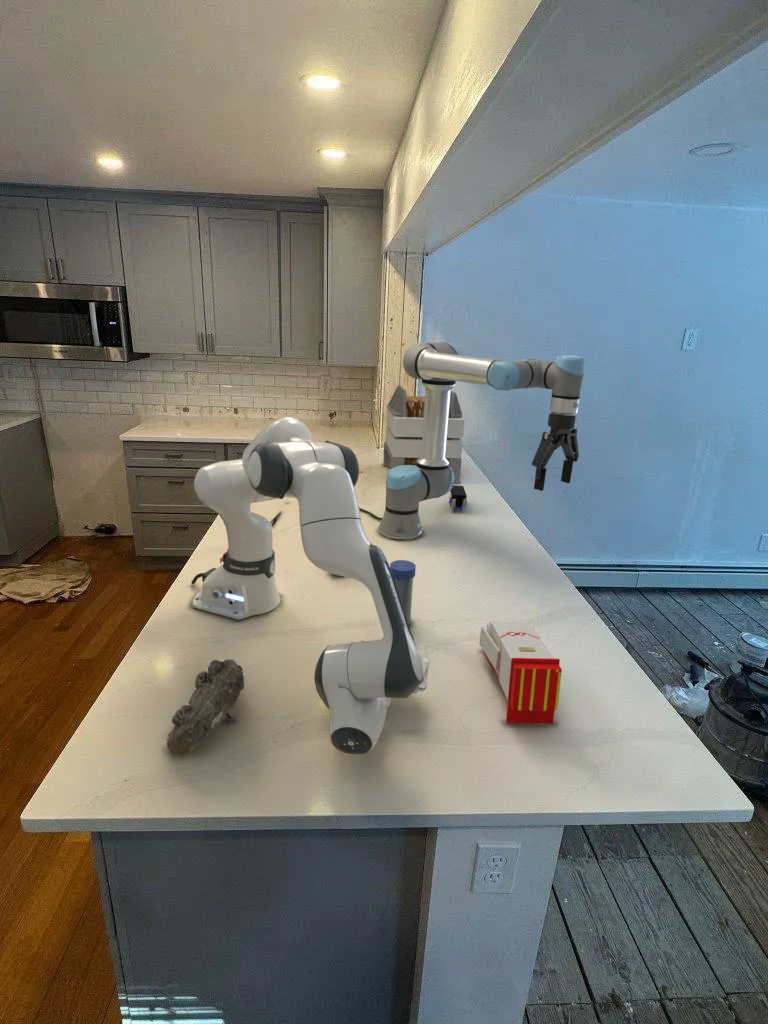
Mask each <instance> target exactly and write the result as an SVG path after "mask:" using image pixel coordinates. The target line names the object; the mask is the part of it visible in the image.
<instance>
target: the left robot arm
mask: <svg viewBox="0 0 768 1024" xmlns="http://www.w3.org/2000/svg"><path fill="white" fill-rule="evenodd" d="M312 437H313V436H312V433H311V431H310V429H309V428H308V426H307V425H306V424H305V423H304V422H303V421H302V420H300V419H298V418H295V417H290V416H289V417H288V416H286V417H281V418H278V419H275V421H272V422H271V423H270V424H268V425H267V426H265V427H264V428H263V429H262V430H260V431H259V433H257V435H255V437H254V438H253V439H252V440H251V442H250V443H249V444H248V445H247V446H246V448H245V449H244V450H243V453H242V457H241V458H239V459H238V458H237V459H231V460H223V461H217V462H214V463H210V464H208V465H205V466H203V467H200V468H199V469H198V471H197V473H196V474H195V477H194V480H193V481H194V482H193V488H194V493H195V496H196V497H197V499H198V500H199V502H201V503H202V504H203V506H205V507H207V508H209V509H210V510H212V511H214V512H215V514H217V515H218V516H219V517H220V518H221V520H222V523H223V524H224V527H225V530H226V537H227V547H228V548H227V550H226V551H224V553H222V556H221V557H220V558H219V564H221V563H222V564H221V565H220V566H218V567H213V568H210V569H209V570H207V571H205V572H200V573H198V574H196V575H195V576H194V577H193V579H192V580H191V582H190V584H192V585H195V584H196V582H197V581H198V579H200V578H201V580H202V585H201V589H200V590H199V591H198V592H197V593H196V594H195V596H194V597H193V599H192V608H194V609H197V610H201V611H205V612H208V613H212V614H216V615H220V616H223V617H227V618H231V619H234V620H237V621H238V620H244V619H246V618H249V617H252V616H258V615H263V614H265V613H270V612H271V611H273V610H275V609H276V608H278V606H279V605H280V604H281V597H280V596H281V595H280V593H279V590H278V586H277V581H276V575H275V573H276V554H275V550H274V541H273V538H274V537H273V535H274V533H273V526H272V522H271V521H270V520H269V519H268V518H267V517H265V516H264V515H261V514H258V513H255V512H252V511H251V505H252V504H255V503H263V502H267V501H272V500H273V501H274V500H277V499H278V500H279V499H280V500H283V499H284V498H292V499H293V498H294V499H296V501H297V503H298V516H299V517H298V518H299V527H300V528H299V529H300V537H301V544H302V548H303V551H304V554H305V556H306V558H307V560H309V562H310V563H311V564H312V565H313V566H315V567H316V568H318V569H320V570H322V571H323V572H326V573H329V574H331V573H332V574H331V575H333V574H336V575H335V576H338V575H341V577H345V578H349V579H353V580H355V581H357V582H360V583H361V584H362V585H364V586H365V587H366V588H367V589H368V591H369V592H370V594H371V598H372V601H373V603H374V607H375V610H376V612H377V616H378V621H379V622H380V627H381V630H382V634H383V637H382V638H379V639H371V640H363V639H359V641H349V642H343V643H336V644H335V643H334V644H329V645H327V646H326V647H325V648H324V649H323V651H322V652H321V653H320V655H319V658H318V660H317V662H316V665H315V669H314V675H313V678H314V679H313V680H314V684H315V689H316V692H317V695H318V696H319V698H320V700H321V701H322V702H323V704H324V705H325V707H326V708H327V709H328V710H329V715H330V724H329V725H330V726H329V739H330V742H331V744H332V746H333V747H334V748H335V749H336V750H337V751H339V752H341V753H343V754H346V755H351V756H354V755H355V756H356V755H357V756H359V755H364V754H367V753H369V752H371V750H373V748H374V747H375V746H376V744H377V743H378V741H379V738H380V736H381V735H382V732H383V728H384V726H385V723H386V720H387V714H388V713H387V710H388V709H389V707H390V706H391V702H392V699H407V698H409V697H410V696H411V695H412V694H418V693H421V692H425V691H426V689H427V687H428V681H427V679H428V675H429V665H430V663H429V661H428V660H427V658H425V657H421V654H420V651H419V649H418V646H417V644H416V641H415V639H414V636H413V633H412V631H411V629H410V625H408V622H407V619H406V616H405V613H404V609H403V606H402V603H401V600H400V597H399V594H398V590H397V587H396V584H395V581H394V578H393V575H392V572H391V569H390V564H389V562H388V559H387V557H386V555H385V553H384V551H383V550H382V549H381V548H380V547H379V546H377V545H375V544H372V542H371V541H370V540H369V538H368V537H367V535H366V533H365V531H364V528H363V524H362V516H361V511H360V510H359V508H360V507H359V501H358V497H357V493H356V490H355V486H356V484H357V482H358V480H359V475H360V465H359V464H360V463H359V460H358V457H357V455H356V454H355V452H354V451H353V449H352V448H350V447H348V446H347V445H344V444H340V443H337V442H334V441H330V440H325V441H314V440H313V438H312ZM270 522H271V523H270Z"/></svg>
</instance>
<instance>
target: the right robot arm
mask: <svg viewBox="0 0 768 1024" xmlns="http://www.w3.org/2000/svg"><path fill="white" fill-rule="evenodd" d="M585 365H586V360H585V358H584V357H582V356H578V355H566V354H565V355H564V354H563V355H558V356H557V357H556V360H555V361H549V360H541V359H536V358H524V359H521V360H506V359H505V360H504V359H503V360H502V359H496V358H487V357H479V356H471V355H464V354H463V352H462V350H461V349H460V347H459V346H457V345H456V344H455V343H451V342H445V341H443V342H442V341H441V342H440V341H439V342H438V341H437V342H417V343H414V344H412V345H411V346H409V347H408V348H407V350H406V351H405V353H404V355H403V358H402V366H403V369H404V372H405V373H406V374H407V375H408V376H409V377H411V378H412V379H415V380H421V385H422V386H423V387H424V389H425V392H424V397H425V404H424V419H423V434H422V449H421V457H420V458H418V459H417V461H416V466H413V465H401V466H396V467H394V468H392V469H390V468H389V470H388V472H387V474H386V479H385V504H384V505H385V507H384V508H385V509H384V513H383V515H382V517H379V516H377V515H375V514H373V513H372V512H371V511H369V510H366V509H363V508H361V507H359V511H360V512H362V513H366V514H367V515H369V516H371V517H373V518H375V519H377V520H379V521H381V522H379V525H378V533H379V534H380V535H381V536H382V537H385V538H387V539H389V540H395V541H410V540H415V539H418V538H420V537H421V536H422V535H423V524H422V521H421V518H420V515H419V507H420V506H419V505H420V502H423V501H427V500H431V499H437V498H440V497H443V496H446V495H448V493H450V490H451V489H452V487H453V485H454V484H455V483H454V473H452V469H451V467H450V466H449V462H448V461H447V459H446V458H445V453H446V441H447V428H448V416H449V404H450V392H451V391H452V389H453V388H454V387H455V386H456V384H457V382H461V383H465V384H473V385H479V386H487V387H491V388H492V389H494V390H496V391H503V392H504V391H511V390H520V389H532V388H533V389H534V388H539V389H546V390H551V398H550V404H549V413H548V418H547V419H548V420H547V426H548V427H549V428H550V431H549V432H548V431H543V432H542V435H541V440H540V442H539V445H538V447H537V449H536V452H535V454H534V457H533V460H532V461H531V466H533V467H535V475H534V477H535V478H534V485H533V489H534V490H537V491H539V492H543V491H544V489H545V484H546V483H545V482H546V476H547V468H546V466H547V465H548V463H549V461H550V459H551V457H552V456H553V454H554V453H555V451H556V450H557V449H558V448H560V447H561V449H562V452H563V455H564V458H565V459H563V463H562V468H561V469H562V470H561V475H560V482H562V483H566V484H571V478H572V472H573V466H574V463H576V462H578V461H579V457H580V453H579V444H578V428H576V423H577V419H578V416H577V414H578V412H579V411H578V410H579V406H580V397H581V391H582V385H583V380H584V376H585Z"/></svg>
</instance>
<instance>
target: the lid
mask: <svg viewBox="0 0 768 1024" xmlns="http://www.w3.org/2000/svg"><path fill="white" fill-rule="evenodd" d="M389 567H390V569H391V572H392V575H393V578H395V579H399V580H409V579H412V578H413V579H415V576H416V564H415V563H414V562H412V561H411V560H405V559H398V560H394V561H392V562H390V564H389Z"/></svg>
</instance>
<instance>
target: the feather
mask: <svg viewBox="0 0 768 1024" xmlns="http://www.w3.org/2000/svg"><path fill="white" fill-rule="evenodd" d="M281 512H282V510H280V512H279V513H277V514H276V516H275V517H273V519H272V520H271V521H269V522H270V523H271V526H272V527H274V525H275V523H276V521H277V520H278V518H279V516H280V514H281Z"/></svg>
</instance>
